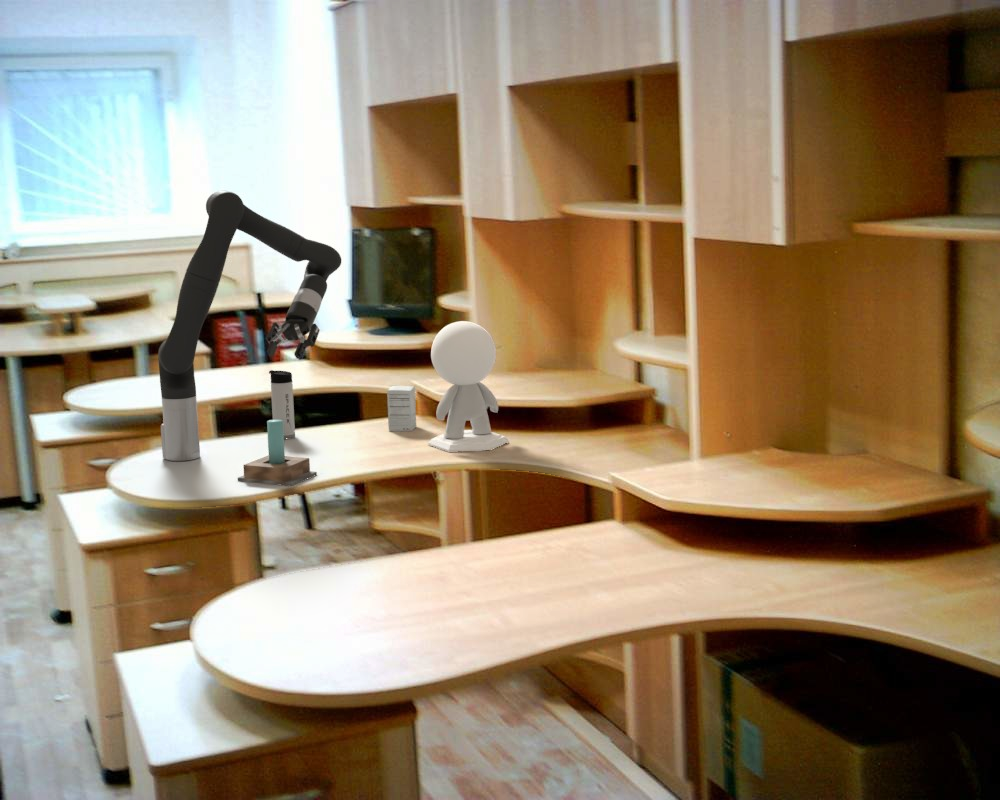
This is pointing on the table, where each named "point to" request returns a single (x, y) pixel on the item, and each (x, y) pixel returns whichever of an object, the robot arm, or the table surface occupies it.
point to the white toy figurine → (465, 387)
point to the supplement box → (401, 408)
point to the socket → (277, 471)
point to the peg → (276, 442)
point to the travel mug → (283, 401)
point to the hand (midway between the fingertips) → (283, 356)
